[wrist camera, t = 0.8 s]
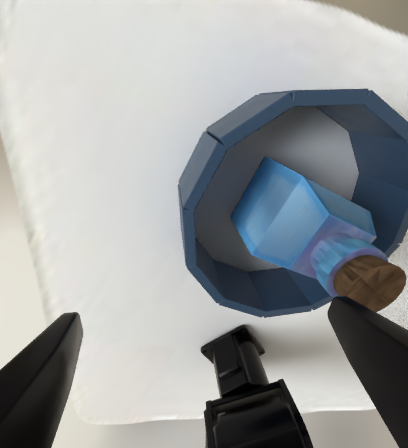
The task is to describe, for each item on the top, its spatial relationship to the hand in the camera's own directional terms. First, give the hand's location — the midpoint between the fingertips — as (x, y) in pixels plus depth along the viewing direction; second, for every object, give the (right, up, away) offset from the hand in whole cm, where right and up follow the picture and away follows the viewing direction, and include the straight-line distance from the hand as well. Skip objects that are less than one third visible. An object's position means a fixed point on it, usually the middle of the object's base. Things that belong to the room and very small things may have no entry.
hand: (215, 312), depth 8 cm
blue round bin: (+6, +5, +14) cm, 16 cm away
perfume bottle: (+6, +5, +14) cm, 16 cm away
